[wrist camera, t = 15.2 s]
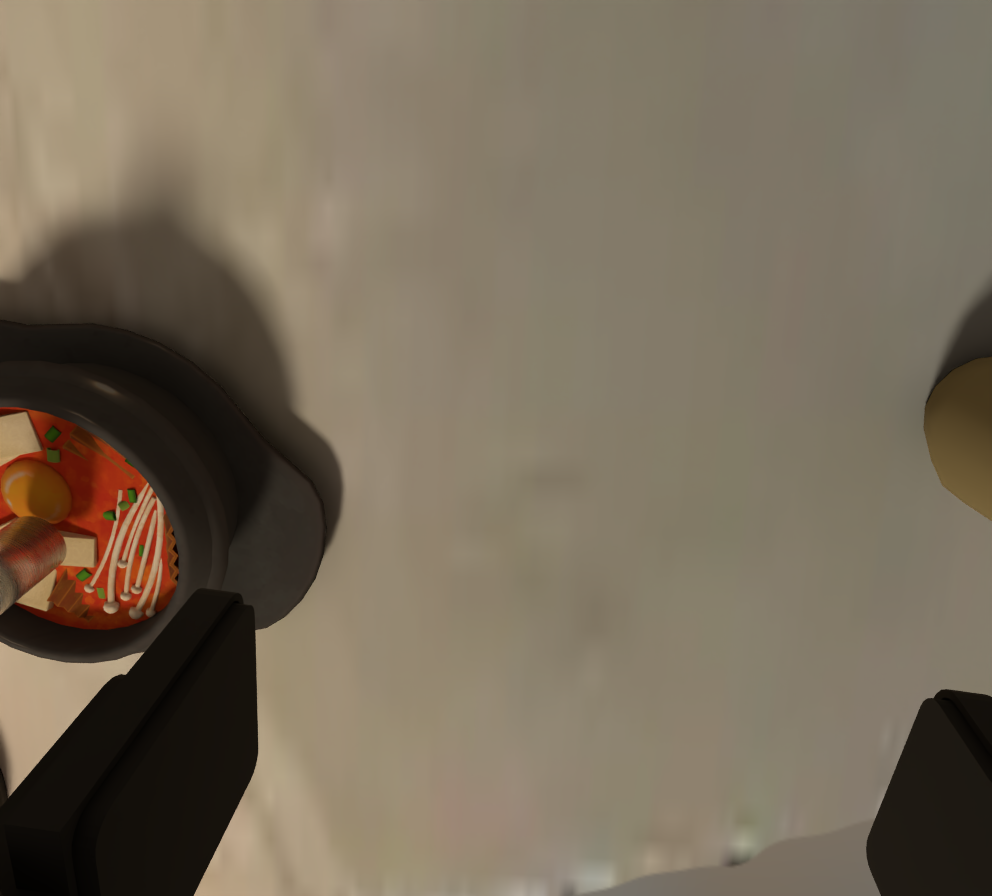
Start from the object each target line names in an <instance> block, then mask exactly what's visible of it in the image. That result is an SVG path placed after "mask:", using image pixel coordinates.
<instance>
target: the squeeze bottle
mask: <svg viewBox="0 0 992 896" xmlns="http://www.w3.org/2000/svg"><path fill="white" fill-rule="evenodd" d="M924 431H925V436H926V440H927V444H928V448H929V453H930V457H931V460H932V463H933V465H934V467H935V470H936V472H937V474H938V476H939V479H940V481H941V483H942V485H943V486H944V487H945V488H946V489H947V490H949V491H950V492H951V493H952V494H954V495H955V496H956V497H957V498H959V499H960V500H961V501H962V502H964V503H965V504H966V505H968V506H970V507H971V508H973V509H974V510H976V511H977V512H979V513H980V514H982V515H983V516H985V517H986V518H988V519H989V520H991V521H992V357H985V358H977V359H974V360H972V361H970V362H968V363H966V364H964V365H962V366H960V367H958V368H955V369H953V370H952V371H951V372H950V373H949V374H948V375H947V376H946V377H945V378H944V379H943V380H942V381H941V382H940V383H939V384H938V385H937V386H935V388H934V390H933V392H932V394H931V396H930V398H929V400H928V402H927V404H926V406H925V414H924Z"/></svg>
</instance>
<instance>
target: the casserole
mask: <svg viewBox="0 0 992 896" xmlns="http://www.w3.org/2000/svg"><path fill="white" fill-rule="evenodd" d="M23 516H34V517H38V518H41V519H44V520H46V521H48V522H49V523H51V524H52V525H53V526H54V527H55V528H56V529H57V530H58V531H59V532H60V533H61V535H62V536H63V538H64V540H65V543H66V549H67V552H66V557H65V559H64V561H63V562H62V563H61V565H59V566H58V567H57V568H56V569H55V570H53V571H52V572H51V573H50V574H49V575H47V576H46V577H45V578H44V579H43V580H41V581H40V582H39V583H38V584H37V585H35V586H34V587H33V588H32V589H31V590H29V591H28V592H27V593H26V594H25V595H24V596H22V597H21V598H20V599H19V600H18V601H16V602H15V603H14V604H13V605H12V606H10V607H9V608H8V609H7V610H6V611H4V612H3V613H2V614H1V615H0V642H2V643H4V644H6V645H8V646H10V647H12V648H14V649H17V650H20V651H23V652H26V653H29V654H31V655H34V656H37V657H41V658H46V659H51V660H56V661H61V662H69V663H97V662H104V661H111V660H117V659H120V658H123V657H126V656H128V655H131V654H134V653H141V652H145V651H146V650H147V649H148V647H149V646H150V645H151V644H152V643H153V641H154V640H155V639H156V638H157V637H158V635H159V634H160V633H161V632H162V630H163V629H164V628H165V627H166V626H167V624H168V623H169V622H170V621H171V620H172V618H173V617H174V616H175V615H176V613H177V612H178V611H179V610H180V609H181V607H182V606H183V605H184V604H185V603H186V601H187V600H188V599H189V598H190V596H191V595H192V594H193V593H194V592H195V591H196V590H197V589H199V588H206V589H214V590H221V591H228V592H236V593H239V594H241V595H242V598H243V602H244V604H246V605H252V606H253V608H254V611H255V630H258V629H264V628H267V627H269V626H271V625H272V624H274V623H276V622H277V621H279V620H281V619H282V618H284V617H285V616H286V615H287V614H288V613H289V612H290V611H291V610H292V609H293V608H294V607H295V606H296V605H297V604H298V603H299V602H300V601H301V600H302V599H303V598H304V596H305V594H306V593H307V591H308V590H309V588H310V586H311V585H312V583H313V582H314V580H315V579H316V576H317V573H318V570H319V567H320V564H321V561H322V558H323V555H324V548H325V539H326V529H327V526H326V519H325V511H324V504H323V502H322V500H321V498H320V496H319V494H318V492H317V490H316V488H315V486H314V484H313V482H312V481H311V480H310V479H309V478H308V477H307V476H306V475H304V474H303V473H302V472H301V471H300V470H299V469H298V468H296V467H295V466H294V465H293V464H292V463H291V462H290V461H289V460H287V459H286V458H285V457H284V456H283V455H282V454H281V453H279V452H278V451H277V450H276V449H275V448H274V447H273V446H272V445H270V444H269V443H268V442H267V441H266V440H265V439H264V438H263V437H262V436H261V435H260V434H259V432H258V431H257V430H256V429H255V427H254V426H253V425H252V424H251V423H250V421H249V420H248V419H247V418H246V417H245V415H244V414H243V413H242V412H241V410H240V409H239V408H238V407H237V406H236V404H235V403H234V402H233V401H232V400H231V398H230V397H229V396H228V395H227V394H226V392H225V391H224V390H223V389H222V388H221V386H220V385H219V384H217V383H216V382H215V381H214V380H213V379H212V378H210V377H209V376H208V375H207V374H206V373H204V372H203V371H202V370H201V369H200V368H199V367H197V366H196V365H195V364H194V363H193V362H191V361H190V360H188V359H186V358H185V357H183V356H181V355H180V354H178V353H176V352H175V351H173V350H171V349H170V348H168V347H166V346H165V345H163V344H161V343H159V342H157V341H154V340H151V339H149V338H146V337H144V336H141V335H138V334H136V333H133V332H131V331H128V330H124V329H118V328H113V327H108V326H103V325H97V324H45V325H26V324H21V323H15V322H10V321H5V320H0V530H1V529H2V528H3V527H5V526H6V525H8V524H9V523H11V522H12V521H14V520H15V519H17V518H19V517H23Z"/></svg>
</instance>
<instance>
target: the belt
mask: <svg viewBox="0 0 992 896" xmlns="http://www.w3.org/2000/svg"><path fill="white" fill-rule="evenodd" d="M6 800H7V791H6V787H5V782H4V778H3V775H2V772H1V769H0V808H1V806H2V805H3V804H4V803H5V802H6Z"/></svg>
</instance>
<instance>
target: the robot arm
mask: <svg viewBox="0 0 992 896" xmlns="http://www.w3.org/2000/svg"><path fill="white" fill-rule="evenodd" d="M257 757H258V720H257V680H256V639H255V611H254V608H253V606H252V605H246V604H244V602H243V598H242V595H241V594H239V593H236V592H228V591H221V590H214V589H206V588H199V589H197V590H196V591H195V592H194V593H193V594H192V595H191V596H190V598H189V599H188V600H187V601H186V603H185V604H184V605H183V606H182V607H181V609H180V610H179V611H178V612H177V613H176V615H175V616H174V617H173V618H172V620H171V621H170V622H169V623H168V624H167V626H166V627H165V628H164V629H163V630H162V632H161V633H160V634H159V635H158V637H157V638H156V639H155V640H154V641H153V643H152V644H151V645H150V646H149V647H148V649H147V650H146V651H145V652H144V654H143V655H142V656H141V657H140V658H139V660H138V661H137V662H136V663H135V664H134V666H133V667H132V668H131V669H130V671H129V672H128V673H127V674H126V675H122V674H120V675H118V676H115V677H113V678H112V679H110V680H109V681H108V682H107V683H106V684H105V685H104V686H103V687H102V688H101V690H100V691H99V692H98V693H97V694H96V696H95V697H94V698H93V699H92V700H91V701H90V703H89V704H88V705H87V706H86V707H85V708H84V710H83V711H82V712H81V713H80V714H79V716H78V717H77V718H76V719H75V720H74V721H73V723H72V724H71V725H70V726H69V727H68V729H67V730H66V731H65V732H64V733H63V734H62V736H61V737H60V738H59V739H58V740H57V741H56V743H55V744H54V745H53V746H52V747H51V749H50V750H49V751H48V752H47V753H46V754H45V756H44V757H43V758H42V759H41V760H40V762H39V763H38V764H37V765H36V766H35V767H34V769H33V770H32V771H31V772H30V773H29V775H28V776H27V777H26V778H25V779H24V780H23V782H22V783H21V784H20V785H19V786H18V787H17V789H16V790H15V791H14V792H13V793H12V795H11V796H10V797H9V798H8V799H7V800H6V802H5V803H4V804H3V805H2V806H1V808H0V896H194V894H195V892H196V890H197V888H198V886H199V884H200V881H201V879H202V877H203V875H204V873H205V871H206V869H207V867H208V865H209V863H210V861H211V859H212V857H213V855H214V853H215V851H216V849H217V847H218V845H219V843H220V841H221V839H222V837H223V835H224V833H225V831H226V829H227V827H228V825H229V823H230V821H231V819H232V816H233V814H234V812H235V810H236V808H237V806H238V804H239V802H240V800H241V798H242V796H243V794H244V792H245V790H246V788H247V786H248V784H249V782H250V780H251V778H252V775H253V773H254V770H255V766H256V762H257ZM866 852H867V860H868V865H869V868H870V870H871V873H872V875H873V878H874V880H875V882H876V884H877V887H878V889H879V892H880V894H881V896H992V697H991V696H988V695H985V694H977V693H970V692H963V691H955V690H948V689H945V690H940V691H939V692H938V693H937V694H936V695H935V697H934V698H928V699H926V700H925V701H923V703H922V705H921V707H920V709H919V712H918V714H917V716H916V719H915V721H914V724H913V726H912V729H911V731H910V734H909V736H908V739H907V741H906V744H905V746H904V749H903V751H902V754H901V756H900V759H899V761H898V764H897V766H896V769H895V771H894V774H893V776H892V779H891V781H890V784H889V786H888V789H887V791H886V794H885V796H884V799H883V801H882V803H881V806H880V808H879V811H878V813H877V816H876V818H875V821H874V823H873V826H872V828H871V831H870V834H869V836H868V840H867V847H866Z"/></svg>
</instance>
